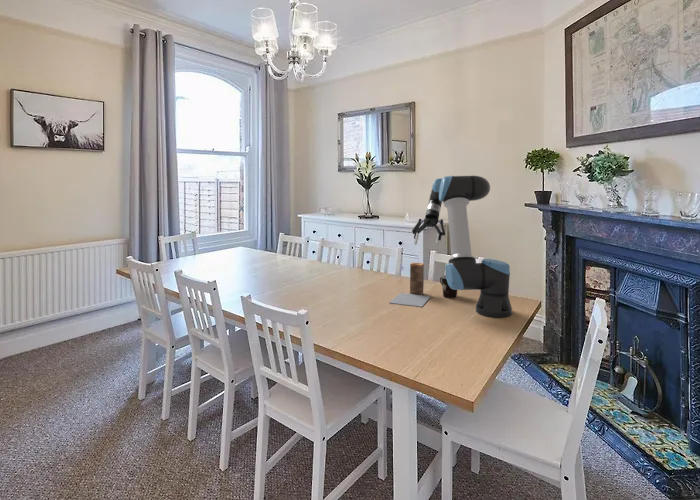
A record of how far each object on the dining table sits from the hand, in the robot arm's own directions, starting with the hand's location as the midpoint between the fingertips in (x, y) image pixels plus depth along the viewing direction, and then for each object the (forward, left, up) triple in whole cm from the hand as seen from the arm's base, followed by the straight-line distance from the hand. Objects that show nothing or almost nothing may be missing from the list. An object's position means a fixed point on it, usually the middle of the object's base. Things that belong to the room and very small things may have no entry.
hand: (425, 244), depth 221 cm
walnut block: (0, +18, -23) cm, 29 cm away
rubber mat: (0, +29, -23) cm, 37 cm away
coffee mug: (-16, +15, -23) cm, 32 cm away
